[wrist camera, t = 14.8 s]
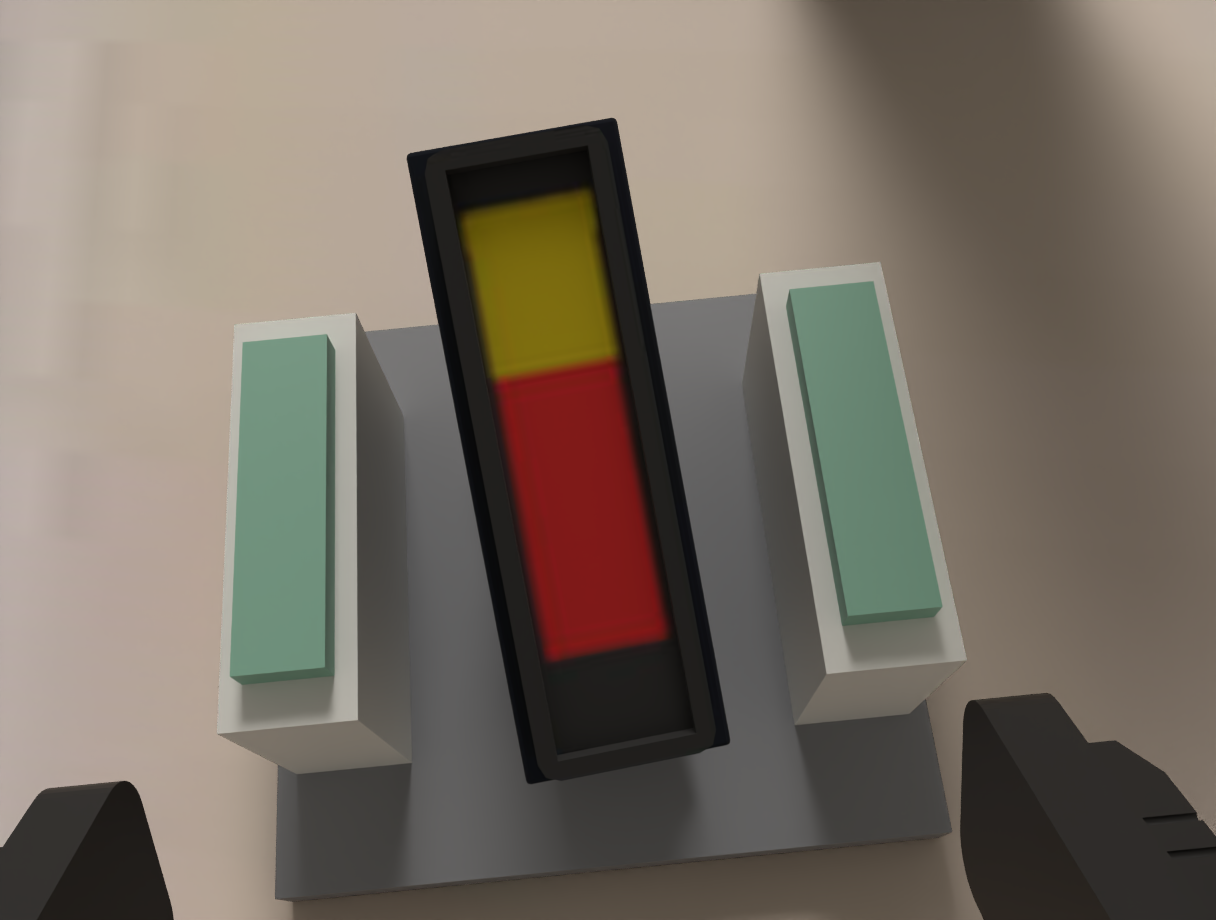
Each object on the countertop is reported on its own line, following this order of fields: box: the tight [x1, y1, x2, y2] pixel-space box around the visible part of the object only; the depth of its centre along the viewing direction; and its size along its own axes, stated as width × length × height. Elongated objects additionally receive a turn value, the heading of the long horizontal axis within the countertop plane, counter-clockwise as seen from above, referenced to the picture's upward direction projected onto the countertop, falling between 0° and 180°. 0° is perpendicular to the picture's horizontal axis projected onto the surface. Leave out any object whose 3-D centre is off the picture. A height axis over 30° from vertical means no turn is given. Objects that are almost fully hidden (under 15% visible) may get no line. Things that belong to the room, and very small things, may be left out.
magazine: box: [407, 118, 730, 784], centre depth 27 cm, size 4×13×15 cm, turn 11°
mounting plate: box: [217, 262, 967, 902], centre depth 30 cm, size 16×17×8 cm
